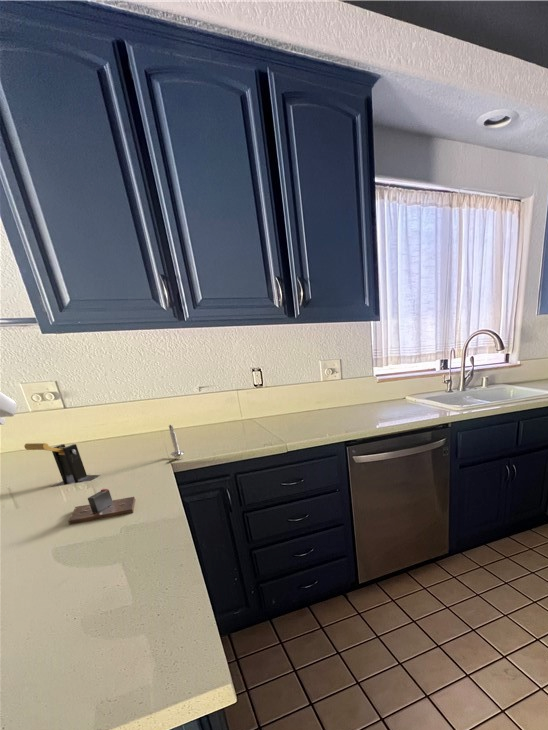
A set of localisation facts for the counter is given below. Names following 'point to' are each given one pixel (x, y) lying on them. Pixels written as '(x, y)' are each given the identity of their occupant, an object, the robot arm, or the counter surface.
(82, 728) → the counter surface
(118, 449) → the counter surface
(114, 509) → the lock plate
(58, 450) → the lever
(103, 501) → the lock knob
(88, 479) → the handle bracket
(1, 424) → the robot arm
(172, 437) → the screw
